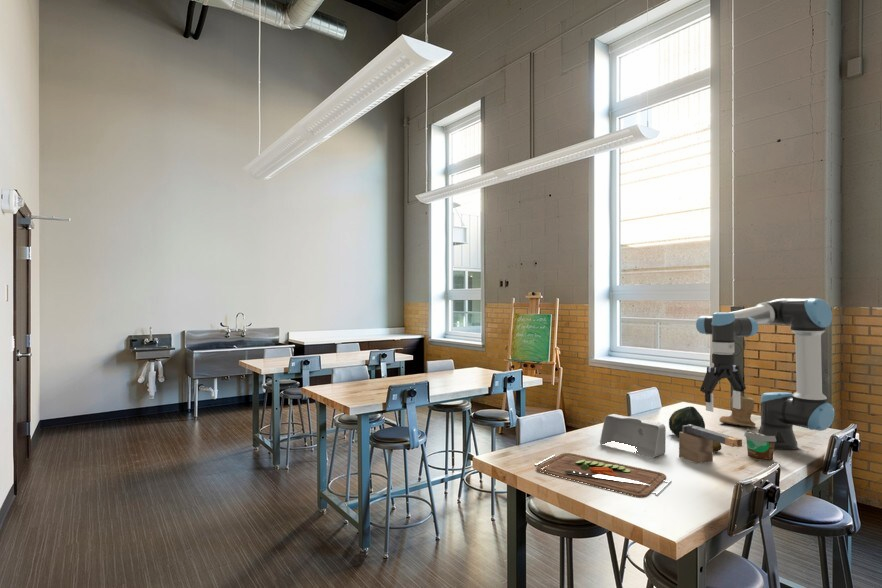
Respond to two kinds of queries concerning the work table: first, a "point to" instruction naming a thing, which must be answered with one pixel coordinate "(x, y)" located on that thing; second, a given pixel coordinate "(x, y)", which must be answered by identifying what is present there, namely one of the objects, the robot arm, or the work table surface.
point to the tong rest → (698, 446)
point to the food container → (760, 445)
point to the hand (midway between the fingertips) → (723, 409)
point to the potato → (716, 446)
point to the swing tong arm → (711, 436)
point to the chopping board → (604, 474)
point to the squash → (685, 419)
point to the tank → (635, 434)
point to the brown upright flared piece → (740, 413)
